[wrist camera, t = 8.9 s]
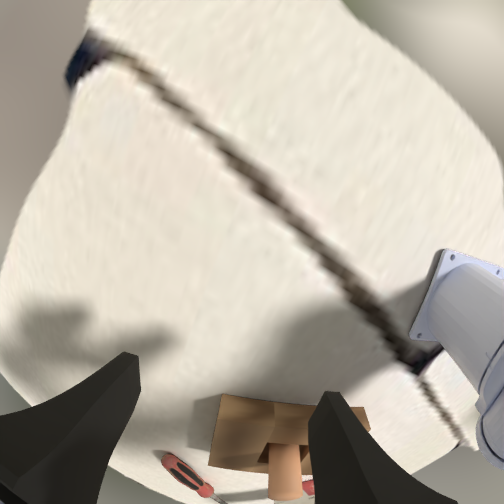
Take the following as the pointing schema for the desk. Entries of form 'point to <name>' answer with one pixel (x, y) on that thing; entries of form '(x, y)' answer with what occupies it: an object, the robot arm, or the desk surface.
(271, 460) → the peg
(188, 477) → the screwdriver
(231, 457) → the hole block
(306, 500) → the ink cartridge box
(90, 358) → the desk surface
